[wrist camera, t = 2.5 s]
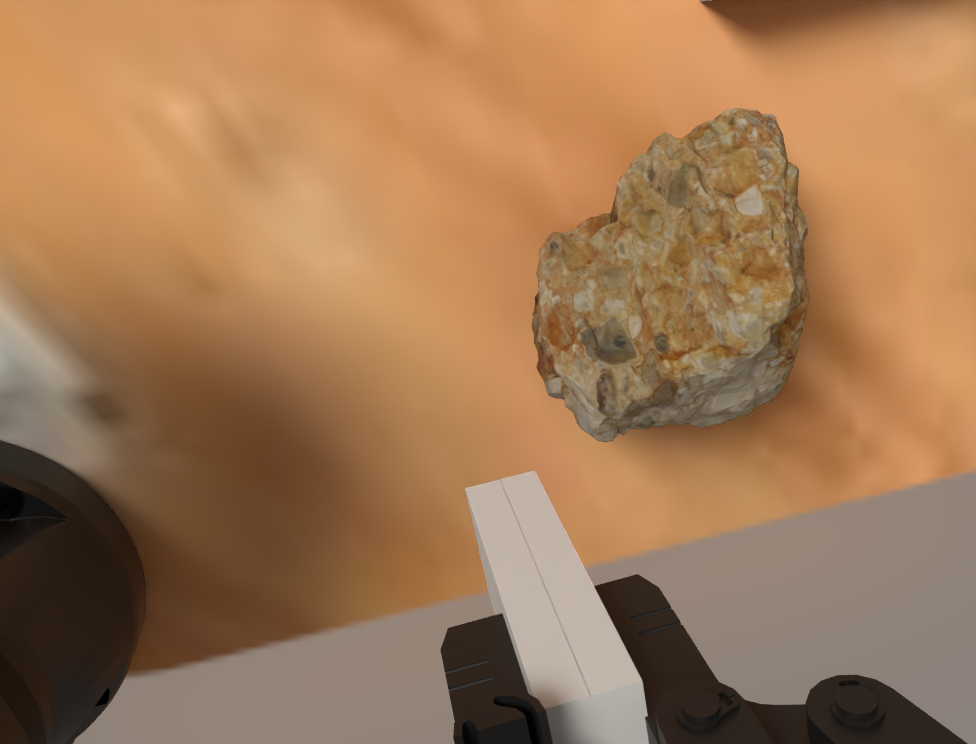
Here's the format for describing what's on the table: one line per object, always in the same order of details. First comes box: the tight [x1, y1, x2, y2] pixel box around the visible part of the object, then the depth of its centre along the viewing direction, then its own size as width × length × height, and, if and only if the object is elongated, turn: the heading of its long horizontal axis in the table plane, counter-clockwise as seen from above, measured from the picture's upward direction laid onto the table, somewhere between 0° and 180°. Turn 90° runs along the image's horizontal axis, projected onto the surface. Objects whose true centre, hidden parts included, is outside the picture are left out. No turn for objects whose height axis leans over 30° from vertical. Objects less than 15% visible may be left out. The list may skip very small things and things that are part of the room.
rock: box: [532, 108, 809, 442], centre depth 32 cm, size 12×10×10 cm
